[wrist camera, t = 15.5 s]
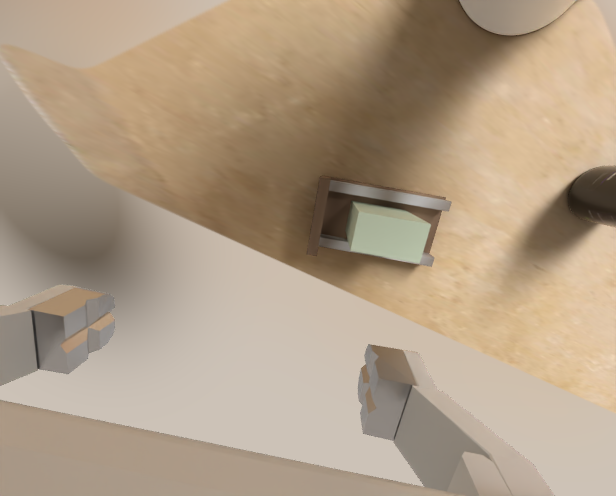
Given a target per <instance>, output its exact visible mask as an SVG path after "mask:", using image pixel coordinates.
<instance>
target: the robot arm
mask: <svg viewBox="0 0 616 496" xmlns="http://www.w3.org/2000/svg"><path fill="white" fill-rule="evenodd" d="M459 1H460V3H461V5H462V7H463V9H464V10H465V12H466V13H467V14H468V16H469V17H470V18H471V19H472V20H473V21H474V22H475V23H476V24H478V25H479V26H480V27H482V28H484V29H486V30H488V31H490V32H493V33H496V34H501V35H521V34H526V33H530V32H533V31H535V30H538V29H540V28H542V27H544V26H546V25H548V24H549V23H551V22H553V21H554V20H555V19H557V18H558V17H559V16H561V15H562V14H563V13H564V12H565V11H566V10H567V9H568V8H569V7H570V6H571V5H572V4H573V3H574V2H575V1H577V0H459ZM114 308H115V304H114V297H113V296H112V295H111V294H108V293H103V292H99V291H94V290H90V289H85V288H79V287H76V286H70V285H61V284H60V285H57V286H55V287H52V288H50V289H47V290H45V291H43V292H40V293H38V294H36V295H33V296H31V297H28V298H26V299H24V300H21V301H19V302H16V303H14V304H12V305H9V306H5V305H0V386H1V385H4V384H6V383H9V382H11V381H13V380H16V379H18V378H20V377H23V376H26V375H28V374H30V373H33V372H35V371H37V370H38V369H41V370H48V371H53V372H59V373H65V374H69V373H70V372H72V371H73V370H74V369H75V368H77V367H78V366H79V365H80V364H82V363H83V362H84V361H86V360H87V359H88V355H89V353H91V352H94V351H96V350H99V349H101V348H102V347H103V346H105V345H106V344H107V343H108V342H109V340H110V338H111V337H112V335H113V333H114V329H115V319H114V318H113V316H112V315H111V313H110V312H111V311H112V310H113V309H114ZM365 361H366V365H365V366H363V367H362V368H361V372H360V376H359V383H358V398H359V402H360V403H361V404H362V409H361V412H360V414H361V422H362V430H363V434H367V435H371V436H375V437H380V438H384V439H388V440H393V441H394V443H395V445H396V446H397V448H398V449H399V451H400V452H401V454H402V455H403V456H404V458H405V459H406V461H407V462H408V464H409V465H410V466H411V468H412V469H413V471H414V472H415V474H416V475H417V477H418V478H419V479H420V481H421V482H422V484H423V485H424V487H422V486H417V485H412V484H407V483H402V482H398V481H393V480H388V479H383V478H377V477H373V476H368V475H363V474H358V473H353V472H348V471H342V470H338V469H333V468H328V467H324V466H319V465H314V464H309V463H304V462H300V461H295V460H290V459H285V458H280V457H275V456H270V455H265V454H261V453H256V452H251V451H246V450H241V449H236V448H231V447H227V446H222V445H217V444H213V443H207V442H203V441H198V440H193V439H188V438H183V437H178V436H173V435H169V434H164V433H159V432H154V431H149V430H144V429H139V428H134V427H129V426H124V425H120V424H114V423H109V422H105V421H100V420H94V419H90V418H85V417H80V416H75V415H70V414H65V413H61V412H56V411H51V410H46V409H41V408H37V407H32V406H27V405H22V404H17V403H12V402H7V401H3V400H0V496H555V495H554V494H553V492H552V491H551V489H550V488H549V486H548V485H547V483H546V482H545V480H544V479H543V478H542V476H541V475H540V473H539V472H538V471H537V469H536V467H535V466H534V464H532V463H531V462H530V461H529V460H528V459H526V458H525V457H524V456H522V455H521V454H520V453H519V452H518V451H516V450H515V449H514V448H513V447H511V446H510V445H509V444H508V443H506V442H505V441H504V440H503V439H501V438H500V437H499V436H498V435H496V434H495V433H494V432H493V431H492V430H490V429H489V428H488V427H487V426H485V425H484V424H483V423H482V422H480V421H479V420H478V419H477V418H475V417H474V416H473V415H472V414H470V413H469V412H468V411H467V410H466V409H464V408H463V407H462V406H460V405H459V404H458V403H457V402H456V401H454V400H453V399H451V397H449V396H448V395H447V394H446V393H444V392H443V391H439V390H437V388H436V386H435V384H434V382H433V380H432V378H431V376H430V374H429V372H428V370H427V368H426V366H425V364H424V362H423V360H422V358H421V356H420V354H419V353H418V352H413V351H407V350H400V349H394V348H388V347H382V346H376V345H370V344H369V345H368V346H367V349H366V352H365Z"/></svg>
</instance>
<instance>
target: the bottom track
mask: <svg viewBox="0 0 616 496" xmlns="http://www.w3.org/2000/svg"><path fill="white" fill-rule="evenodd" d="M445 199H446V198H445V197H440V196H435V195H429V194H423V193H417V192H412V191H406V190H400V189H395V188H389V187H383V186H378V185H372V184H366V183H360V182H355V181H349V180H343V179H338V178H332V177H326V176H321V177H320V180H319V186H318V192H317V197H316V203H315V209H314V215H313V220H312V226H311V232H310V238H309V243H308V249H307V254H308V255H313V256H317V251H318V246H321V247H326V248H332V249H337V250H343V251H348V252H354V253H359V254H365V253H360V252H355V251H350V247H349V243H348V239H347V235H346V231H345V230H346V225H347V220H348V215H349V211H350V206H351V201H356V202H362V203H368V204H373V205H379V206H385V207H390V208H396V209H401V210H406V211H407V212H409V213H411V214H413V215H415V216H417V217H418V218H420V219H422V220H424V221H426V222H428V223H429V224H431V227H430V230H429V234H428V237H427V240H426V244H425V247H424V251H423V254H422V258H421V261H420V263H415V262H409V261H404V260H398V259H393V258H387V257H382V256H376V255H371V254H365V255H370V256H376V257H381V258H387V259H392V260H398V261H403V262H409V263H414V264H420V265H425V266H431V267H432V264H433V261H434V257H433V256H432V255H430V254H429V253H430V249H431V246H432V243H433V239H434V236H435V233H436V229H437V226H438V222H439V219H440V216H441V212H442V211H448V212H449V209H450V205H451V201H447V200H445Z"/></svg>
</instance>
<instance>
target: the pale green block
mask: <svg viewBox="0 0 616 496" xmlns="http://www.w3.org/2000/svg"><path fill="white" fill-rule="evenodd" d="M430 227H431V224H429V223H428V222H426V221H424V220H422V219H420V218H418V217H417V216H415V215H413V214H411V213H409V212H407V211H406V210H401V209H396V208H390V207H385V206H379V205H373V204H368V203H362V202H356V201H351V206H350V211H349V215H348V220H347V225H346V230H345V231H346V235H347V239H348V243H349V247H350V251H355V252H360V253H365V254H371V255H376V256H382V257H387V258H393V259H398V260H404V261H409V262H415V263H420V261H421V258H422V254H423V251H424V247H425V244H426V240H427V237H428V234H429V230H430Z"/></svg>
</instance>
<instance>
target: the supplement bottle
mask: <svg viewBox="0 0 616 496" xmlns="http://www.w3.org/2000/svg"><path fill="white" fill-rule="evenodd" d="M568 204H569V207H570V209H571V211H572V213H573V214H574V215H575V216H577V217H578V218H580V219H582V220H585V221H590V222H594V223H598V224H603V225H607V226H612V227H616V166H600V167H596V168H593V169H591V170H589V171H587V172H585V173H584V174H582V175H581V176H580V177H579V178H578V179H577V180H576V181H575V182H574V184H573V185H572V187H571V189H570V191H569V195H568Z"/></svg>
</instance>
